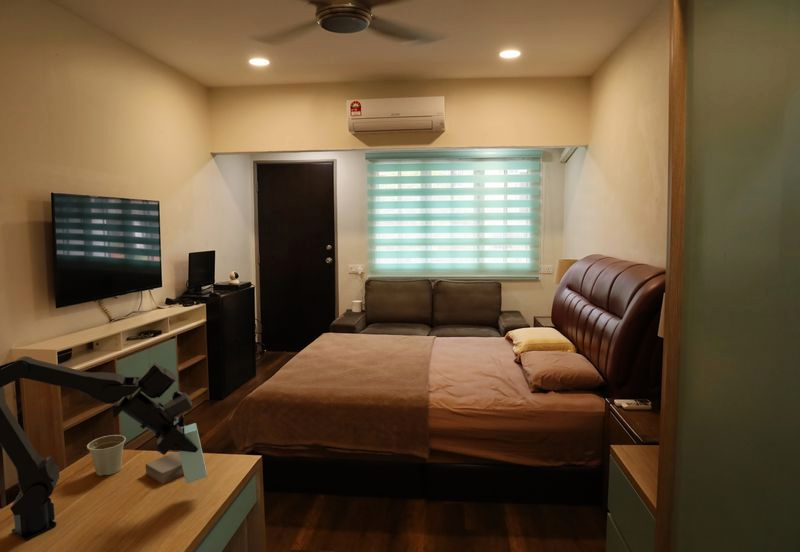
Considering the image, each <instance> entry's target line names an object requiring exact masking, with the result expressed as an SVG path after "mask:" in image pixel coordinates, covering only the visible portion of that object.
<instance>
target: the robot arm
mask: <svg viewBox="0 0 800 552" xmlns="http://www.w3.org/2000/svg"><path fill="white" fill-rule="evenodd" d="M19 379H25V380H30V381H35V382H39V383H43V384H48V385H51V386H52V385H53V386H56V387H61V388H65V389H70V390H74V391H78V392H81V393H82V394H84V395H87V396H88V397H90V398H91V399H94V400H96V401H98V402H100V403H103V404H107V405H111V409H112V418H114V419H115V418H117V417H118V416H119V415H120V414H121V413H124V414H125V415H127V416H128V417H130V418H131V419H132V420H134V421H135V422H137V423H138V424H140V426H139V427H140V428H141V429H142V430H144V429H145V428H146V429H147V430H149V431H150V432H152V433H153V434H154V435H153V436H154V437H155V438H156V439H157V441H156V448H157V449H156V451H157V452H158V453H159V454H161V455H163V456H166V454H167V453H168V452H169V451H175V452H179V451H186V452H196V451H197V450H198V448H197V447H196V446H195V445H194V444H193V443H192V442H191V441H190V440H189V439H188V438H187V437H186V436H185V431H184V426H186V424H185V422H184V421H185V420H184V414H183V413H185V412H188V411H190V410H191V409H192V408H193V402H192V400H191V398H190V397H189V395H188V393H186V392H181V391H180V390H175V391H173V392H172V396H171V397H172V399H170V400H169V401H168V402H166V403H164V402H161V401H157V402H156V401H154V400H153V399H156V398H159V399H160V398H161V397H162V396H163V395H164V394H165V393H166V392H167V391H168V390H169V389H170V388H171V386H173V384H174V383H175V382H176V381H177V380H178V378H177V377H176V375H175V374H174V373H173V372H171V371H170V370H169V369H168V368H166V367H163V366H161V365H158V364H157V363H153V364H151V366H150V367H149V369H147V371H146V372H145V373H144V374H143V375H142V376H141V377H140V376H124V375H123V374H120V373H117V372H116V373H115V372H106V371H105V372H104V371H99V372H98V371H97V372H89V371H84V370H79V369H75V368H72V367H68V366H63V365H60V364H56V363H52V362H47V361H43V360H38V359H34V358H33V357H31V356H20V357H18V358H17V359H15V360H12V361H10V362H6V363H3V364H1V365H0V446H1V448H2V449H3V451H4V452H5V454H6V455H7V457H8V459H10V461H11V464H13V466H14V468H15V471H16V477H17V482H18V483H17V484H18V486H19V490H20V491H19V493H18V495H17V496H16V497H15V500H14V501H13V503H12V505H11V506H10V511H11V512H12V514H13V520H14V528H12V530H11V533H12V534H13V535H16V536H17V537H18V538H20V539H22V540H24V541H28V540H29V539H32V538H34V537H35V536H38V535H39V534H41V533H44V532H46V531H48V530H50V529H52V528H54V527H56V526H57V525H58V524H57V522H56V521H54V520H55V519H56V517H55V504H54V503H53V502H52V499H51V498H50V497H51V495H52V494H53V493H54V490H55V488H56V486H57V484H58V482H59V479H60V476H61V475H60V470H61V467H60V466H59V465H58V464H56V462H55V459H54V457H53V455H49V456H48V457H46V458H45V457H43V456H41V455H40V454H39V453H38V452H37V450H36V449H35V447H34V445H33V444H32V442H31V441H30V439H29V438H28V436H27V435H26V433H25V431H24V430H23V428H22V427H21V425H20V423H19V422H18V420H17V419H16V417H15V416H14V414H13V412H12V411H11V410H12V409H10V408H9V406H8V404H7V402H6V393H5V388H4V387H5V386H7V385H9V384H11V383H13V382H14V381H17V380H19ZM178 416H179V417H178ZM181 427H183V428H181Z"/></svg>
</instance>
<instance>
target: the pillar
mask: <svg viewBox="0 0 800 552" xmlns="http://www.w3.org/2000/svg"><path fill="white" fill-rule="evenodd" d="M181 428H183V427H181ZM184 431H185V436H186V437H187V438H188V439H189V440H190V441H191V442H192V443H193V444H194V445H195V446H196V447H197V448H198V450H197V451H196V452H186V451H178V453H179V455H180V459H181V463H182V468H183V472H184V475H183V476H184V479H185V480H184V481H185V484H186V485H188V484H191V483H194V482H197V481H200V480H203V479H205V478H208V473H207V467H206V463H205V458H204V453H203V449H202V445H201V440H200V439H201V438H200V435H199V431H198V426H197V423H196V422H195V423H191V424H188V425H185V426H184Z"/></svg>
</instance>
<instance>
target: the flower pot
mask: <svg viewBox="0 0 800 552" xmlns="http://www.w3.org/2000/svg"><path fill="white" fill-rule="evenodd" d="M126 439H127V438H126V437H125V436H124V435H121V434H112V435H111V434H110V435H105V436H101V437H98V438H95V439H93V440H92V441H90V442H89V443H88V444H87V445H86V448H87V450H88V451H89V453H90V455H91V458H92V462H93V466H94V471H95V474H96V475H97V476H99V477H103V476H111V475H114V474H116V473H118V472H119V471H120V470H121V469H122V464H123V463H122V462H123V461H122V460H123V452H124V451H123V450H124V445H125V442H126V441H127V440H126Z"/></svg>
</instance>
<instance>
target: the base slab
mask: <svg viewBox="0 0 800 552" xmlns="http://www.w3.org/2000/svg"><path fill="white" fill-rule="evenodd" d="M145 475H147V476H148V477H151V478H152V479H154V480H155V481H157V482H159V483H161V484H165V483H168V482H170V481H172V480H174V479H175V480H176V479H177V478H179V477H182V476H184V472H183V468H182V463H181V459H180V455H179V452H178V451H175V452H172V453H170V454H169V453H168V455H163V456H161V457H159V458H157V459H155V460H152V461H149V462H146V463H145Z"/></svg>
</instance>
